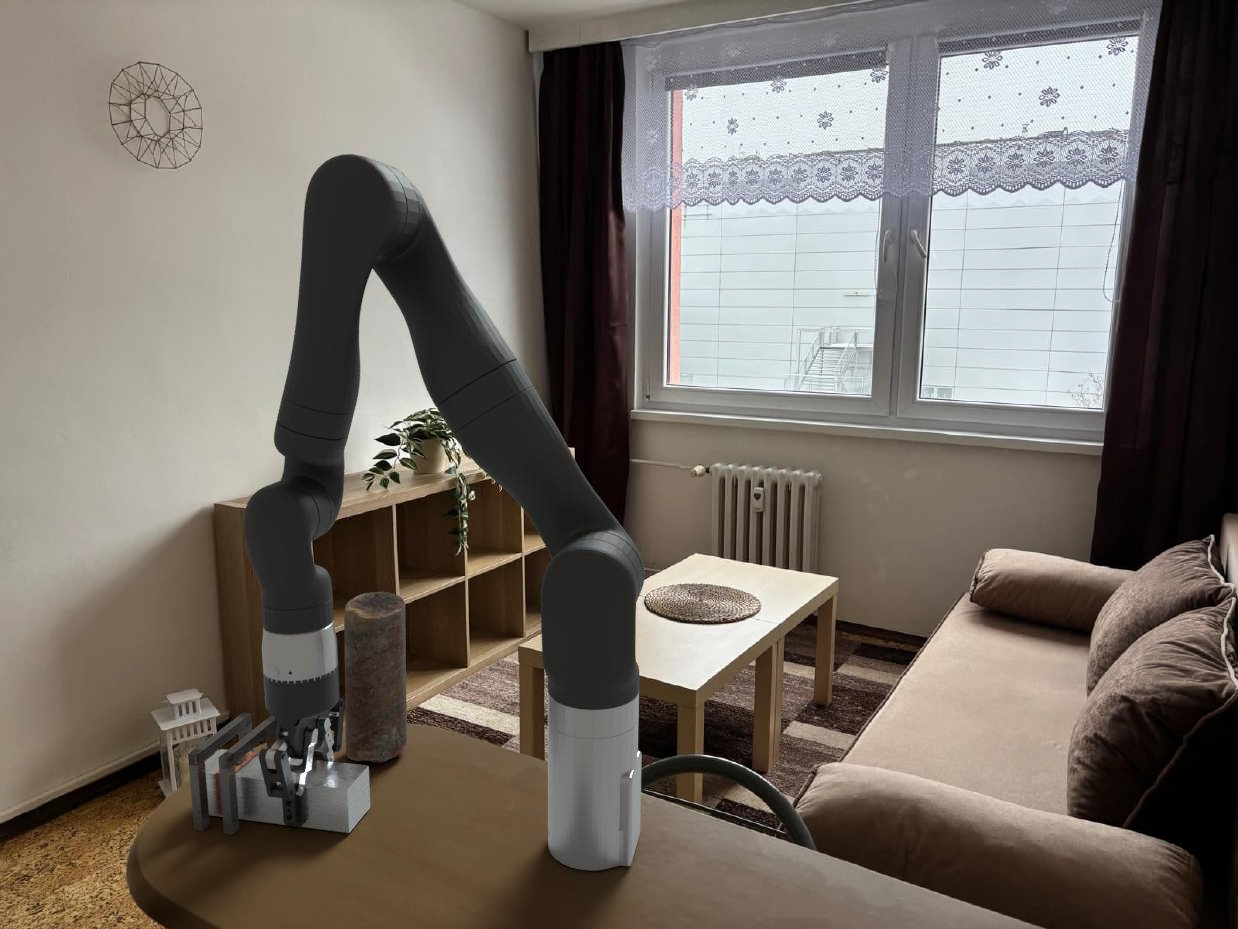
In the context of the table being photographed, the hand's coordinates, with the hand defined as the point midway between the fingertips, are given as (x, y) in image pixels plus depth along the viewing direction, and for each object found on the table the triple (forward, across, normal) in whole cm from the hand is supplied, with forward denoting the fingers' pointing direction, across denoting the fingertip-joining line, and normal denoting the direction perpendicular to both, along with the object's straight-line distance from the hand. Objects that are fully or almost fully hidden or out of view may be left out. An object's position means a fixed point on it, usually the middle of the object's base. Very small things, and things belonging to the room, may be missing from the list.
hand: (308, 809), depth 100 cm
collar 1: (+1, 0, +10) cm, 10 cm away
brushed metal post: (0, 0, +3) cm, 3 cm away
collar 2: (+1, 0, +6) cm, 7 cm away
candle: (+1, +14, -2) cm, 14 cm away
